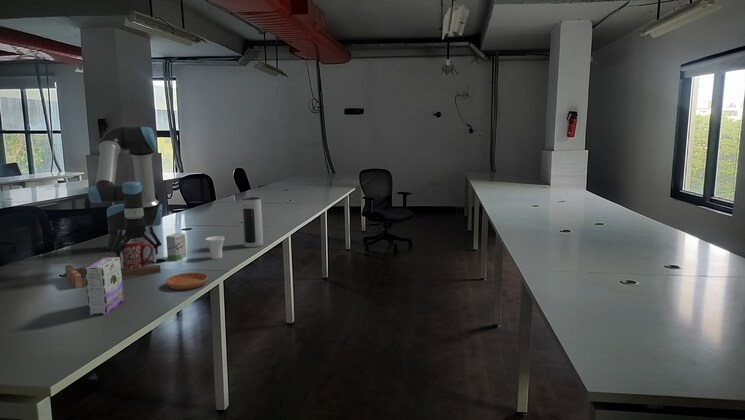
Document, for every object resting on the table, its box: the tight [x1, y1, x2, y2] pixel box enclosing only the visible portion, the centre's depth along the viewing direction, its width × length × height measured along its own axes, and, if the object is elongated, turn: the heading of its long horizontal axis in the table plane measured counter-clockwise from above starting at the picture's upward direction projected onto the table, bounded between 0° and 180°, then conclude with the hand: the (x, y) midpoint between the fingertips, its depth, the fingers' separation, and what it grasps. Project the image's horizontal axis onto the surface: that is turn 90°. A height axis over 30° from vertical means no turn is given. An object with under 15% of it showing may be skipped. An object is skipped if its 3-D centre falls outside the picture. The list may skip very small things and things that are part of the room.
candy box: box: [85, 256, 125, 316], centre depth 165 cm, size 14×6×16 cm, turn 5°
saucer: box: [165, 272, 209, 291], centre depth 191 cm, size 16×16×3 cm
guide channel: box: [64, 256, 161, 289], centre depth 205 cm, size 20×32×5 cm, turn 132°
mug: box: [121, 238, 153, 271], centre depth 211 cm, size 13×9×14 cm
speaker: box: [240, 196, 264, 248], centre depth 257 cm, size 11×10×26 cm
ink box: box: [165, 232, 188, 262], centre depth 232 cm, size 8×5×12 cm, turn 167°
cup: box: [204, 235, 225, 260], centre depth 233 cm, size 9×9×10 cm
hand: (138, 264), depth 212 cm, fingers open, 13 cm apart
